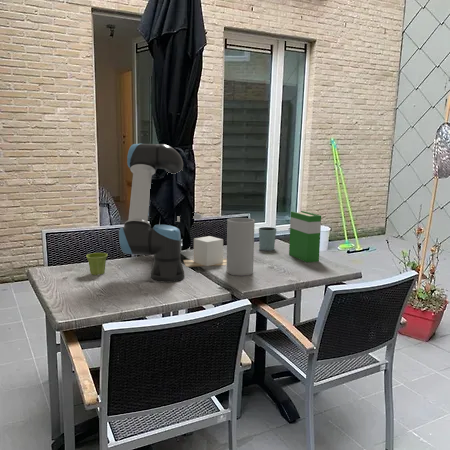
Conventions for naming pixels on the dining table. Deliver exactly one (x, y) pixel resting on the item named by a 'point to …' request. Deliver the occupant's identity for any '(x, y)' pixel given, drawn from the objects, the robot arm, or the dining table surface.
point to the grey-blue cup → (267, 238)
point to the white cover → (208, 250)
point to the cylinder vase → (240, 246)
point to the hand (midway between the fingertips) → (190, 218)
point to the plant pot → (97, 263)
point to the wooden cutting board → (192, 264)
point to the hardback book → (305, 236)
